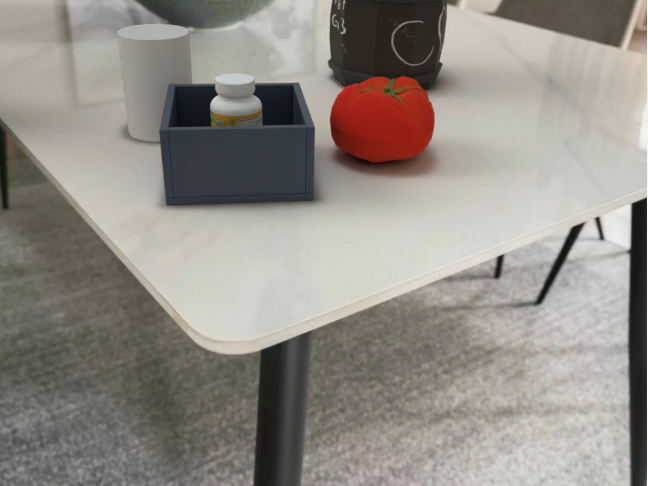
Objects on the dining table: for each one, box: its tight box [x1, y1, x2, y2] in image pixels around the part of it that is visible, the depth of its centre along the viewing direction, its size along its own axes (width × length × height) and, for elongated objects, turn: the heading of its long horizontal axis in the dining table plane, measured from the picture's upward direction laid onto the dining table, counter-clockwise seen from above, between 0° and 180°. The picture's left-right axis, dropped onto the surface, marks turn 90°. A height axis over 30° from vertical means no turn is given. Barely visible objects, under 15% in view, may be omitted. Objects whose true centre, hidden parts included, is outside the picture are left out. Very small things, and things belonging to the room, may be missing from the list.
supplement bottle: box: [210, 72, 263, 127], centre depth 71 cm, size 5×5×10 cm
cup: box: [116, 23, 193, 143], centre depth 82 cm, size 8×8×12 cm
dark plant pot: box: [327, 0, 448, 91], centre depth 103 cm, size 18×18×16 cm
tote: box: [159, 82, 316, 206], centre depth 72 cm, size 15×15×8 cm
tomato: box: [329, 76, 436, 164], centre depth 78 cm, size 13×12×8 cm
